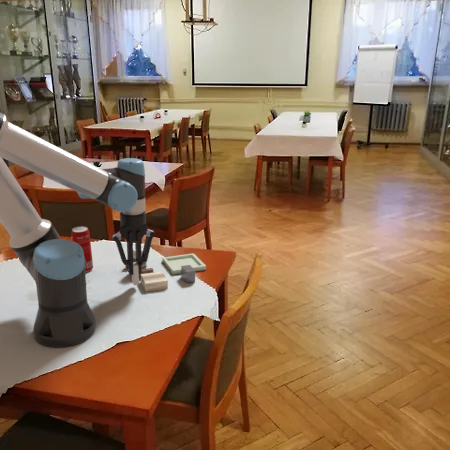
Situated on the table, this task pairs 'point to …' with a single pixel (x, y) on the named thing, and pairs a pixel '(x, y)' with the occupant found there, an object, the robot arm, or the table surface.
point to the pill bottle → (135, 258)
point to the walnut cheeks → (144, 271)
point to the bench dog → (188, 273)
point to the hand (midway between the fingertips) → (135, 283)
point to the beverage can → (83, 244)
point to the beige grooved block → (154, 281)
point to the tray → (183, 263)
